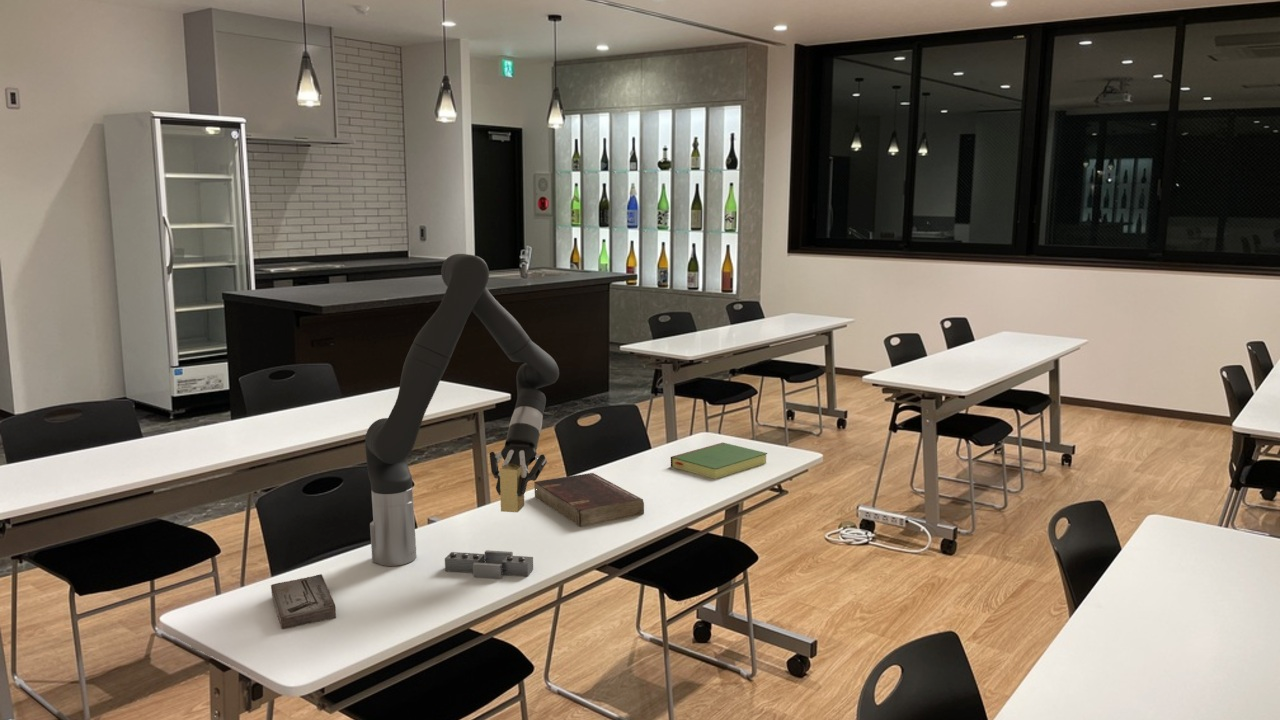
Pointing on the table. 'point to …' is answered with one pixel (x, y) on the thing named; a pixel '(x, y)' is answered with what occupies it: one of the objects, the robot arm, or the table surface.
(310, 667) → the table surface
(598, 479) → the hardback book
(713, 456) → the hardcover book
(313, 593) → the box
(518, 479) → the brass rectangular block
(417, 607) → the table surface
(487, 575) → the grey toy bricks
